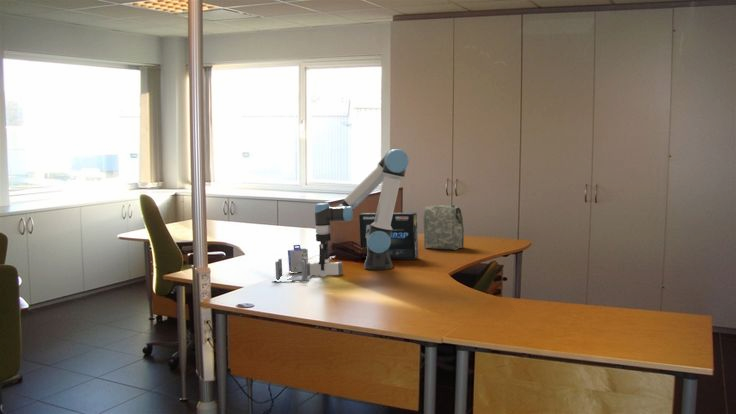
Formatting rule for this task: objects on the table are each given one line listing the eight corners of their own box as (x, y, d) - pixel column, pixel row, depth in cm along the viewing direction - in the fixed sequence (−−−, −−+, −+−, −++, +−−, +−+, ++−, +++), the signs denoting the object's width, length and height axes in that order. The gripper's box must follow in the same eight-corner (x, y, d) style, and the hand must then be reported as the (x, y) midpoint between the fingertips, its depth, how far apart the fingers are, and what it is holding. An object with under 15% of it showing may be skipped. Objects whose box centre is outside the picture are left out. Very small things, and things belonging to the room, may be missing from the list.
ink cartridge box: (306, 270, 368) (304, 243, 367) (309, 272, 363) (308, 245, 362) (288, 272, 365) (287, 245, 363) (291, 274, 360) (290, 246, 358)
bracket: (311, 276, 349) (310, 257, 349) (308, 281, 338) (307, 261, 337) (276, 277, 351) (275, 258, 350) (272, 282, 339) (271, 262, 338)
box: (360, 258, 400) (358, 213, 398) (365, 256, 407) (363, 212, 405) (414, 260, 388) (413, 213, 385) (419, 258, 395) (417, 212, 392)
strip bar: (342, 273, 356) (342, 261, 356) (341, 274, 352) (341, 263, 352) (308, 274, 358) (307, 262, 357) (307, 275, 354) (306, 263, 353)
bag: (465, 247, 430) (464, 203, 427) (454, 250, 416) (453, 206, 414) (433, 245, 442) (432, 203, 439) (422, 249, 428) (420, 205, 426)
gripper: (319, 230, 366) (320, 269, 368) (312, 236, 341) (314, 278, 343) (333, 230, 365) (334, 269, 367) (327, 236, 340) (329, 278, 342)
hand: (324, 274), depth 355 cm, fingers open, 13 cm apart
